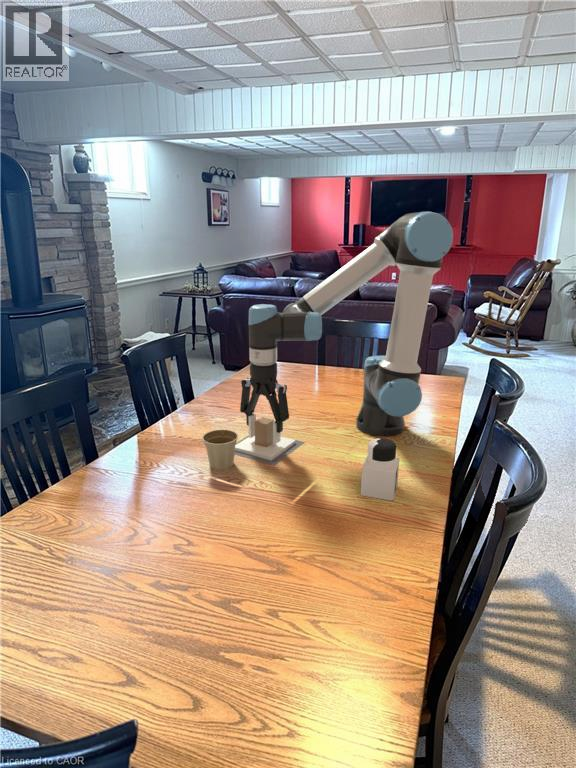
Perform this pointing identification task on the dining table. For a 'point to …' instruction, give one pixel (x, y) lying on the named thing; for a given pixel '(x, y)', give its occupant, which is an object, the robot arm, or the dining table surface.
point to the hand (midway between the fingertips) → (264, 439)
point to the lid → (264, 441)
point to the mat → (274, 461)
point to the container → (380, 470)
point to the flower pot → (220, 448)
